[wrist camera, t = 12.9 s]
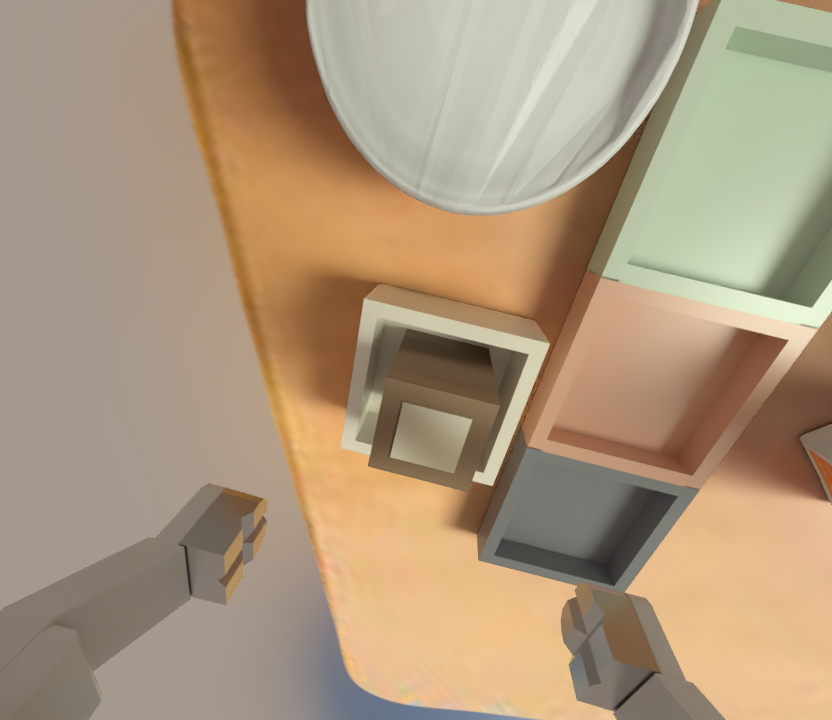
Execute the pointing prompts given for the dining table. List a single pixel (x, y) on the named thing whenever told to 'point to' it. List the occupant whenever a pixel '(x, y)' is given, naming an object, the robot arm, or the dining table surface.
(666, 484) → the tray far charcoal
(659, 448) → the tray middle terracotta
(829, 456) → the skincare box
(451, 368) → the tan block
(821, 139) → the tray near sage
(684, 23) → the ramekin
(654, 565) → the dining table surface
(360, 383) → the cream square open box
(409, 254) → the dining table surface
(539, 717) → the dining table surface
